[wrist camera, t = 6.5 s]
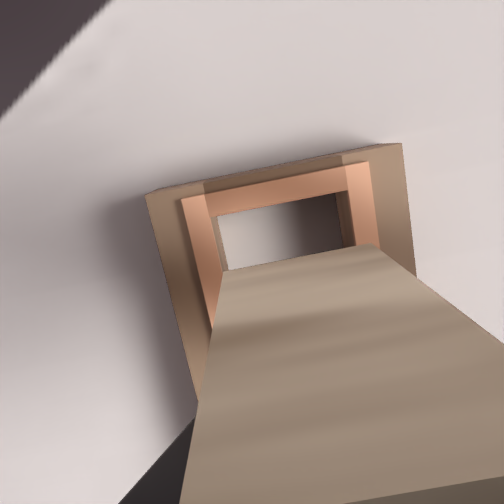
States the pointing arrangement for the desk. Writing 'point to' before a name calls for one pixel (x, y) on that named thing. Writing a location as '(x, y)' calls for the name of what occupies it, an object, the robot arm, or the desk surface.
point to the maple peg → (345, 390)
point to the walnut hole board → (265, 194)
